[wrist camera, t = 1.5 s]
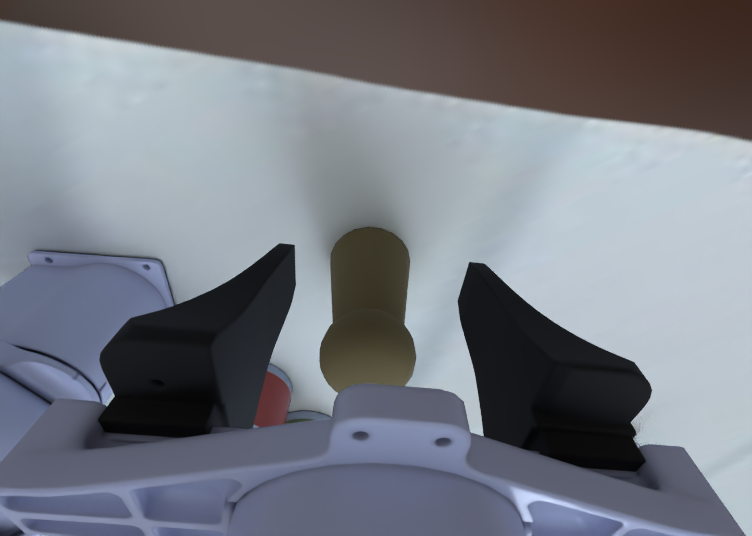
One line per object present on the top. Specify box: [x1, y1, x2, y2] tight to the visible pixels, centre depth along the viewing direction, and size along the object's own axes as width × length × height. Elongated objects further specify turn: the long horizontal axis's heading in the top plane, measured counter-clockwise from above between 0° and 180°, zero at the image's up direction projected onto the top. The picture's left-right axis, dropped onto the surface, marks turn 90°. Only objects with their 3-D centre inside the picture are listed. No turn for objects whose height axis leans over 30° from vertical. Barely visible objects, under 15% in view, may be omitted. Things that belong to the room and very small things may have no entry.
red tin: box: [253, 364, 292, 428], centre depth 32 cm, size 8×8×7 cm
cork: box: [320, 227, 416, 393], centre depth 23 cm, size 6×6×11 cm
